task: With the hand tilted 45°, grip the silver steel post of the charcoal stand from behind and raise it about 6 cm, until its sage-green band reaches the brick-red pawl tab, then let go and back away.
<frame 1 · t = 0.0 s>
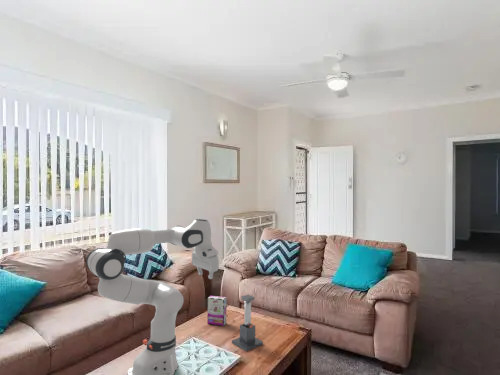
hand: (205, 276, 167), 39 cm above the table, tool pointing down, fingers open, 8 cm apart
jack stand base: (247, 343, 177), on the table
candy bar box: (216, 323, 202), on the table
steel post: (247, 318, 177), point 14 cm above the table, slide at 0.0 cm
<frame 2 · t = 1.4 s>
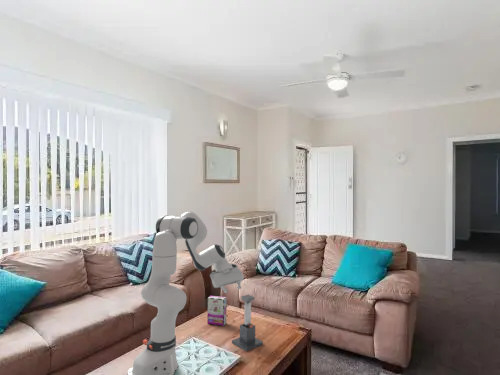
hand: (233, 290, 187), 26 cm above the table, tool tilted 45°, fingers open, 8 cm apart
nothing on the table moved.
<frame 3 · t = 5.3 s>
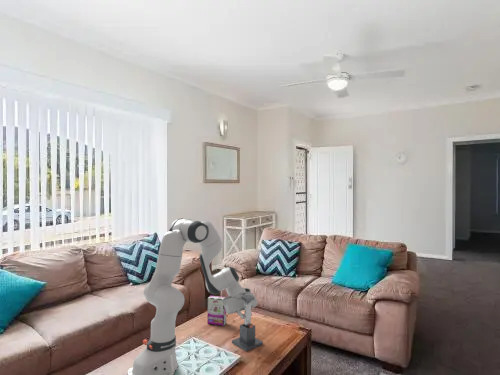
hand: (247, 317, 177), 14 cm above the table, tool tilted 45°, fingers closed on steel post, 3 cm apart
steel post: (247, 318, 177), point 14 cm above the table, slide at 0.0 cm, touching gripper
everything else where it was.
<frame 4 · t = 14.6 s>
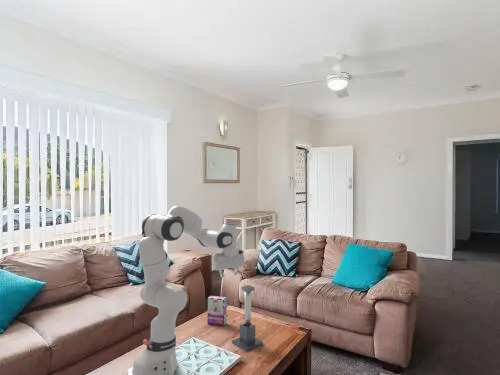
hand: (228, 275, 187), 34 cm above the table, tool pointing down, fingers open, 8 cm apart
steel post: (247, 308, 177), point 19 cm above the table, slide at 5.2 cm
everything else where it was.
at the end: steel post slide at 5.2 cm; the gripper is holding nothing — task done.
